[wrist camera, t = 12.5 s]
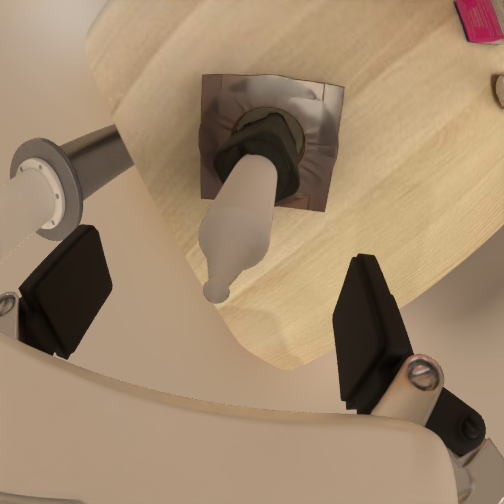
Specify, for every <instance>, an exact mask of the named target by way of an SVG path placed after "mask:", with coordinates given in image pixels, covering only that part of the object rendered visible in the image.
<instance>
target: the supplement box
mask: <svg viewBox="0 0 504 504" xmlns="http://www.w3.org/2000/svg"><path fill="white" fill-rule="evenodd" d="M454 3H455V5H456V8H457V10H458V13H459V16H460V18H461V21H462V24H463V27H464V30H465V33H466V37H467V41H468V42H473V43H481V44H489V45H504V0H458V1H456V2H454Z"/></svg>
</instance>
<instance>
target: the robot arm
mask: <svg viewBox="0 0 504 504" xmlns="http://www.w3.org/2000/svg"><path fill="white" fill-rule="evenodd" d="M64 213H65V196H64V191H63V188H62V184H61V182H60V180H59V178H58V176H57V174H56V172H55V171H54V170H53V168H52V167H51V166H50V165H49V164H48V163H47V162H45V161H44V160H42V159H40V158H34V157H32V158H29V159H27V160H25V161H24V162H22V163H21V164H20V166H19V168H18V170H17V173H16V176H15V177H14V178H12V179H10V180H9V181H7V182H5V183H4V184H2V185H1V186H0V265H1V264H2V263H3V262H4V261H5V260H6V259H7V258H8V257H9V256H10V255H11V254H12V253H13V252H14V251H15V250H16V249H17V248H18V247H19V246H20V245H21V244H22V243H23V242H25V241H26V240H27V239H28V238H29V237H30V236H31V235H32V234H34V232H36V231H37V230H38V229H39V228H42V229H52V228H54V227H55V226H57V225H58V224H59V223H60V222H61V220H62V219H63V216H64ZM19 291H20V293H21V295H22V297H21V298H19V296H18V295H17V294H16V293H15V292H6V293H4V294H2V295H0V504H501V503H502V502H503V500H504V458H503V456H502V455H501V453H500V452H499V451H498V449H497V448H496V446H495V445H494V443H493V442H492V441H491V439H490V438H488V439H485V434H486V427H485V423H484V420H483V419H482V417H481V415H480V414H479V413H478V412H476V411H475V410H474V409H472V408H471V407H470V406H468V405H467V404H466V403H464V402H463V401H462V400H460V399H459V398H458V397H456V396H455V395H454V394H452V393H451V392H449V391H448V390H447V389H445V388H444V387H443V384H444V374H443V371H442V369H441V367H440V366H439V364H438V363H437V362H436V361H435V360H434V359H432V358H431V357H429V356H426V355H422V354H416V355H414V353H413V350H412V347H411V344H410V341H409V337H408V335H407V331H406V329H405V326H404V323H403V320H402V317H401V314H400V312H399V309H398V306H397V303H396V301H395V298H394V297H393V295H391V294H390V291H389V289H388V286H387V283H386V281H385V278H384V276H383V273H382V271H381V269H380V266H379V264H378V261H377V259H376V257H375V256H374V255H368V254H360V253H359V254H358V255H357V257H352V259H351V262H350V265H349V268H348V271H347V274H346V277H345V281H344V284H343V287H342V290H341V292H340V295H339V298H338V301H337V304H336V307H335V310H334V313H333V319H332V321H333V329H334V337H335V346H336V354H337V364H338V373H339V384H340V394H341V400H342V401H346V409H347V410H351V409H357V414H335V413H334V414H332V413H304V412H290V411H278V410H267V409H256V408H247V407H240V406H232V405H226V404H219V403H213V402H207V401H202V400H197V399H191V398H187V397H182V396H177V395H172V394H168V393H164V392H160V391H156V390H152V389H148V388H144V387H141V386H137V385H133V384H130V383H126V382H123V381H120V380H117V379H113V378H110V377H107V376H104V375H101V374H98V373H95V372H92V371H89V370H87V369H84V368H81V367H78V366H76V365H73V364H71V363H68V362H65V361H63V360H61V359H58V358H56V357H53V354H54V352H55V353H56V354H57V356H59V357H61V358H64V359H66V360H67V359H68V358H69V356H70V354H71V353H73V352H74V351H75V350H76V348H77V346H78V345H79V343H80V341H81V340H82V338H83V336H84V334H85V333H86V331H87V329H88V328H89V326H90V324H91V323H92V321H93V320H94V318H95V316H96V315H97V313H98V312H99V310H100V308H101V307H102V305H103V304H104V302H105V301H106V299H107V297H108V296H109V294H110V293H111V291H112V281H111V277H110V274H109V270H108V267H107V264H106V259H105V256H104V252H103V248H102V244H101V240H100V236H99V232H98V230H96V228H95V227H94V226H93V225H83V224H82V225H79V226H78V227H77V228H76V229H75V230H74V231H73V232H71V233H70V234H69V235H68V236H67V237H66V238H65V239H64V240H63V241H62V242H61V243H60V244H59V245H58V246H57V247H56V248H55V249H54V250H53V251H52V252H51V253H50V254H49V255H48V256H47V257H46V258H45V259H44V260H43V261H42V262H41V264H40V265H39V266H38V267H37V268H36V269H35V270H34V271H33V272H32V273H31V274H30V276H29V277H28V278H27V279H26V280H25V281H24V282H23V283H22V285H21V286H20V287H19Z"/></svg>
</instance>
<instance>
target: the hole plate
mask: <svg viewBox="0 0 504 504" xmlns="http://www.w3.org/2000/svg"><path fill="white" fill-rule="evenodd" d="M343 96H344V87H342V86H337V85H331V84H324V83H319V82H313V81H306V80H298V79H291V78H288V77H284V76H280V75H269V74H263V75H255V76H253V75H221V74H214V75H202V99H201V124H200V129H199V150H200V155H201V199H212V200H215V198H216V196H217V195H218V193H219V191H220V190H221V188H222V186H223V184H222V182H221V181H220V179H219V177H218V175H217V173H216V172H215V170H214V167H213V157H214V155H215V153H216V152H217V151H218V150H219V149H220V148H221V147H222V146H223V145H224V144H225V143H226V142H227V141H228V140H229V139H230V138H231V137H232V136H233V135H234V134H235V130H236V126H237V124H238V122H239V121H240V119H241V118H242V117H243V116H244V115H245V114H246V113H247V112H249V111H251V110H253V109H256V108H260V107H274V108H278V109H281V110H283V111H285V112H287V113H289V114H290V115H291V116H293V117H294V118H295V119H296V120H297V122H298V123H299V124H300V126H301V128H302V130H303V133H304V144H303V148H302V151H301V153H300V155H299V157H298V158H297V159H298V167H299V176H300V186H299V189H298V190H297V192H296V193H295V194H294V195H292V196H290V197H288V198H286V199H283V200H280V201H278V202H275V203H274V207H275V206H281V207H289V208H297V209H305V210H312V211H319V212H325V208H326V203H327V198H328V192H329V187H330V181H331V176H332V170H333V167H334V164H335V161H336V158H337V153H338V147H339V146H338V145H339V144H338V133H339V126H340V119H341V111H342V104H343Z"/></svg>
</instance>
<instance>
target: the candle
mask: <svg viewBox="0 0 504 504" xmlns="http://www.w3.org/2000/svg"><path fill="white" fill-rule="evenodd" d="M213 167H214V170H215V172H216V173H217V175H218V177H219V179H220V181H221V182H222V184H223V186H222V188H221V190H220V191H219V193H218V195H217V196H216V198H215V200H214V201H213V203H212V205H211V206H210V208H209V210H208V212H207V213H206V215H205V217H204V218H203V220H202V223H201V225H200V227H199V235H198V239H199V245H200V247H201V249H202V251H203V253H204V255H205V256H206V258H207V263H208V276H209V280H208V281H207V282H206V283H205V285H204V287H203V293H204V296H205V298H206V299H207V300H208V301H210V302H211V303H214V304H217V303H222V302H224V301H225V300H226V299H227V298H228V297H229V293H230V290H229V286H230V285H231V283H232V282H233V281H234V280H235V279H236V278H237V277H238V275H239V274H240V273H241V272H242V271H243V270H246V269H248V268H250V267H253V266H255V265H256V264H258V263H259V262H260V261H261V260H262V259H263V257H264V256H265V254H266V253H267V250H268V247H269V243H270V235H271V227H272V219H273V211H274V203H275V202H278V201H280V200H283V199H286V198H288V197H290V196H292V195H294V194H295V193H296V192H297V190H298V189H299V186H300V176H299V167H298V159H297V151H296V143H295V140H294V138H293V136H292V134H291V132H290V130H289V127H288V125H287V123H286V121H285V119H284V117H283V116H282V115H281V114H279V113H269V114H268V116H267V117H264V118H262V119H260V120H257V121H255V122H253V123H251V124H249V123H247V124H245V125H244V126H243V127H242V128H241V129H240V130H239V131H238V132H236V133H235V134H234V135H233V136H232V137H231V138H230V139H229V140H228V141H227V142H226V143H225V144H224V145H223V146H222V147H221V148H220V149H219V150H218V151H217V152H216V153H215V155H214V157H213Z"/></svg>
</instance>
